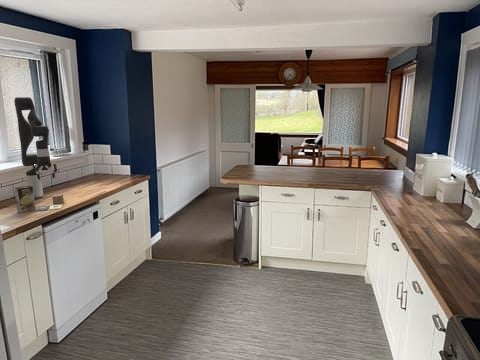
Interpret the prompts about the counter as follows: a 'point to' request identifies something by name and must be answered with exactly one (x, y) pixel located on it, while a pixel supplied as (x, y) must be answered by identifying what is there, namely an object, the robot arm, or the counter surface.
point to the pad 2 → (56, 207)
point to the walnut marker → (57, 199)
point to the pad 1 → (42, 208)
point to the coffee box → (25, 199)
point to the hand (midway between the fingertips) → (46, 178)
